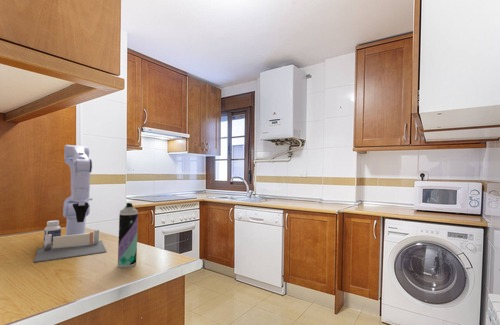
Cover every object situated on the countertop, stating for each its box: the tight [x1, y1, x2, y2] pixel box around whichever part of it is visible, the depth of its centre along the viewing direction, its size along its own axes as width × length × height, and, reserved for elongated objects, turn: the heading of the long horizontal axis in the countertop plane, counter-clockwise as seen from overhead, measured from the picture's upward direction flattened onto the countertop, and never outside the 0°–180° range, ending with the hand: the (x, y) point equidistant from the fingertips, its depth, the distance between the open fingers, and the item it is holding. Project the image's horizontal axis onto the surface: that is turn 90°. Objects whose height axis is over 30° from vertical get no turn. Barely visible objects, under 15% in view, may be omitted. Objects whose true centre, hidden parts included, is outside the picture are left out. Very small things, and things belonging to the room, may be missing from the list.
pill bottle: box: [43, 219, 62, 247], centre depth 104 cm, size 5×5×10 cm
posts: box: [43, 229, 100, 251], centre depth 101 cm, size 2×17×6 cm, turn 125°
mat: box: [32, 240, 108, 264], centre depth 98 cm, size 18×21×1 cm
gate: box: [53, 231, 94, 248], centre depth 102 cm, size 13×1×5 cm, turn 125°
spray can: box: [117, 202, 139, 269], centre depth 85 cm, size 6×6×20 cm
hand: (80, 221), depth 107 cm, fingers open, 3 cm apart
